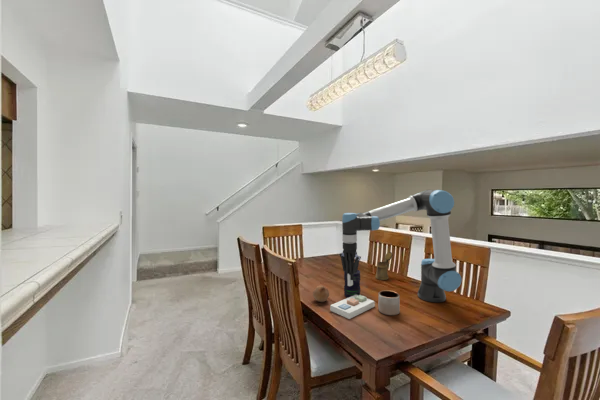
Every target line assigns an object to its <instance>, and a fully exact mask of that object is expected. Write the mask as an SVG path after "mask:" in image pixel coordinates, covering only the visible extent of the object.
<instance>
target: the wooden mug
mask: <svg viewBox="0 0 600 400" xmlns="http://www.w3.org/2000/svg"><path fill="white" fill-rule="evenodd" d="M392 258H393V252H391V251H390V252H387V253H386V254H385V256H384V261H377V263H376V267H377V268H376V274H375V279H376V280H381V281H387V280H388V279H389V274H388V269H389V261H390V260H391V259H392Z"/></svg>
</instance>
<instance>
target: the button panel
mask: <svg viewBox="0 0 600 400" xmlns="http://www.w3.org/2000/svg"><path fill="white" fill-rule="evenodd" d="M356 296H358V295H353V296H351V297H349V298H348V297H345V298H344V299H342V300H339V301H337V302H335V303H333V304H332V303H331V304H330V307H329V308H330V309H329V310H330V312H332V313H334V314H337V315H339V316H341V317H343V318H346V319H348V320H351V319H352V318H354V317H357V316H358V315H359V316H360V314H362V313H364V312H366V311H369V310H370V309H373V308H374V307H375V306H376V304H375V302H376V301H374V300H372V299H370V298H367V300H366V301H364V302H359V304H357V305H355V306H352V305H349V304H347V300H349V299H351V298H353V299H355V297H356ZM342 304H346V305H349V306H351V308H349V309H347V310H344V309H341V308H339V307H338V306H340V305H342Z"/></svg>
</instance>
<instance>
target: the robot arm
mask: <svg viewBox="0 0 600 400" xmlns="http://www.w3.org/2000/svg"><path fill="white" fill-rule="evenodd" d="M454 205H455V199H454V197H453V195H452V194H451V193H450V192H449V191H446V190H442V189H425V190H422V191H420V192H418V193H414V194H411V195H409V196H408V197H407V198H405V199H401V200H399V201H395V202H393V203H390V204H386V205H384V206H381V207H380V206H379V207H377V208H374V209H371V210H368V211H365V212H358V213H356V212H344V213H343V214H342V218H341V219H342V222H341V223H342V224H341V226H342V228H341V229H342V234H341V235H342V237H341V239H342V249H343V250H342V252H339V254H338V255H339V257H340V260H341V266H342V270H343V272H344V271H345V272H346V275H347V279H348V286H352V285H353V280H354V274H355V273H357V270H359V269H358V268H359V264H360V260H361V259H362V256H360V255H358V251H357V249H358V243H357V241H358V238H357V237H358V232H357V231H372V232H373V231H378V230H379V229H380V226H381V223H380V222H381V221H384V220H388V219H391V218H394V217H397V216H401V215H403V214H406V213H410V212H412V211H413V212H418V211H426V216H427V217H428V218H429V219H430V227H431V228H430V229H431V237H432V246H433V256H434V257H433V258H424V259H422V260H421V264H420V269H421V270H420V272H421V273H420V279H421V280H420V285H419V288H418V290H417V297H418V298H419V299H421V300H423V301H426V302H429V303H444V302H446V300H447V296H446V292H454V291H456V290H458V289H459V287H460V286H461V284H462V276H461V274H460V273H459V272H458V271H457V264H456V263H455V262H453V256H452V246H451V245H452V244H451V235H450V225H449V224H450V223H449V218H450V216H452V212H451V211H452V209H453V208H454V207H455V206H454Z"/></svg>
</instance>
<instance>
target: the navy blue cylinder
mask: <svg viewBox="0 0 600 400" xmlns="http://www.w3.org/2000/svg"><path fill="white" fill-rule="evenodd" d="M343 272H344V274H343V280H344V286H343V292H344V294H343V295H344V297H345V298H349V297H351V296H353V295H361V270H359V269H358V270H357V273H355V274H354V280H353V285H352V286H348V279H347V275H346V272H345V271H343Z"/></svg>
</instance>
